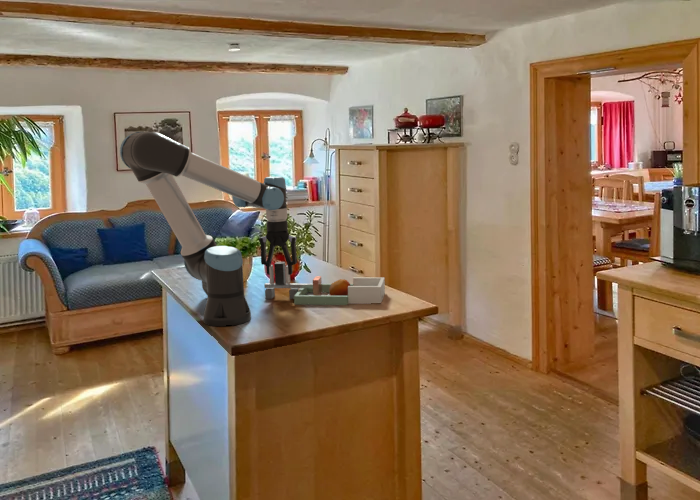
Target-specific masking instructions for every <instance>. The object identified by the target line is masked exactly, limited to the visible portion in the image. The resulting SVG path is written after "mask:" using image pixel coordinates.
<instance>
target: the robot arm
mask: <svg viewBox="0 0 700 500" xmlns="http://www.w3.org/2000/svg"><path fill="white" fill-rule="evenodd" d="M119 155H120V158H121V161H122V162H123V164H124V165H125V166H126V167H127V168H128V169H130V170H131V171H132V173H133V175H134V176H135V178H136V179H137V181H138V182H139V183H142V184H144V185H146V187H147V189H148V190H149V193H150V194H151V196H152V197H153V199H154V200H155V202H156V204H157V206H158V207H159V209H160V211H161V213H162V214H163V217H164V219H165V220H166V221H167V223H168V225H169V227H170V228H171V230H172V232H173V234H174V235H175V237H176V239H177V240H178V242H179V243H180V246H181V250H180V255H181V256H182V259H183V264H184V265H183V266H184V269H185V270H186V272H187V273H188V274H189V276H191V277H192V278H193V279H196V280H198V281H201V282H202V281H204V282H206V283H207V294H206V296H207V300H206V303H205V307H204V311H203V314H202V315H203V323H204V324H205V325H207V326H212V327H227V326H226V325H232V326H236V325H241V324H244V323H247V322H248V321H250V320H251V319H252V316H251V315H252V313H251V309H250V307H249V304H248V302H247V299H246V297H245V287H244V270H243V268H244V267H243V266H244V261H243V260H244V259H243V257H242V252H241V250H239V249H238V248H236V247H234V246H227V245H218V244H217V243H216V241H215V240H214V238H213V236H212V235H209V234H206V233H205V231H204V229H203V227H202V225H201V224H200V222H199V221H198V219H197V217H196V215H195V213H194V212H193V211H194V210H192V208H191V206H190V204H189V202H188V201H187V198H186V197H185V195H184V193H183V191H182V190H181V188H180V187H179V186H180V185H178V182H177V181H176V179H175V177H180V176H182V177H185V178H187V179H190V180H193V181H195V182H197V183H200V184H202V185H205V186H207V187H210V188H213V189H215V190H218V191H219V192H222V193H225V194H226V195H229V196H231V197H232V198H231V199H232V201H233V204H234V205H235V207H237V208H247V207H248V208H250V207H251V208H258V209H264V210H265V216H266V217H265V219H266V235H265V236H260V237H259V238H258V241H259V243H260V264H261V265H265V267H266V275H269V283H270V284H273V283H275V272H274V264H272V260H273V255H274V251H275V248H276V246H277V247H280V248H281V249H282V253H283V255H284V258H285V263H286V265H285V269H286V284H291V276H292V274H293V266H294V265H296V264H297V263H298V257H297V256H298V255H297V247H296V246H297V243H296V242H297V238H298V237H297V236H293V235H290V233H289V225H288V220H287V219H288V206H287V205H288V203H287V183H286V179H285V177H283V176H266V177H264V178H263V182H260V181H258V180H256V179H254V178H251V177H249V176H246V175H245V174H242V173H240V172H237V171H235V170H233V169H230V168H228V167H226V166H224V165H221V164H219V163H217V162H214V161H212V160H210V159H208V158H205V157H203V156H200V155H199V154H196V153H194V152H192V151H191V149H190V147H189V146H186V145H184V144H182V143H180V142H178V141H176V140H174V139H172V138H170V137H168V136H166V135H164V134H162V133H160V132H156V131H137V132H134V133H131V134H129V135H127V136H126V137H125V138H124V139H123V140H122V142H121V143H120V148H119ZM288 240H289V242H290V252H289V249H288V244H287V242H288ZM267 241H268V242H269V243H270V244H269V249H268V254H267V249H266V248H267V247H266V246H267ZM290 253H291V255H290Z"/></svg>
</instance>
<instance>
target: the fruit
mask: <svg viewBox="0 0 700 500" xmlns="http://www.w3.org/2000/svg"><path fill="white" fill-rule="evenodd" d="M330 284H331V286H330V288H329V292H328V294H329V293H330V294H329V296H348V286H351V285H350V284H351V283H350V282H349V281H348V280H347V279H345V278H342V279H341V278H340V279H338V280H336V281H333V282H332V283H330Z"/></svg>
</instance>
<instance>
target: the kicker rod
mask: <svg viewBox="0 0 700 500" xmlns="http://www.w3.org/2000/svg"><path fill="white" fill-rule="evenodd" d="M273 267H274V283H273V284H270V282H269V283H267V282H265V283H264V289H267V288H275V289H291V288H298V289H301V288H313V292H312V293H313V294H312V295H321V296H323V292H322V284H323V283H322V275H321V276H318V275H317V276H315V277H314V278H313V279H312V283H289V284H286V261H276V262H274V264H273Z"/></svg>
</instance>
